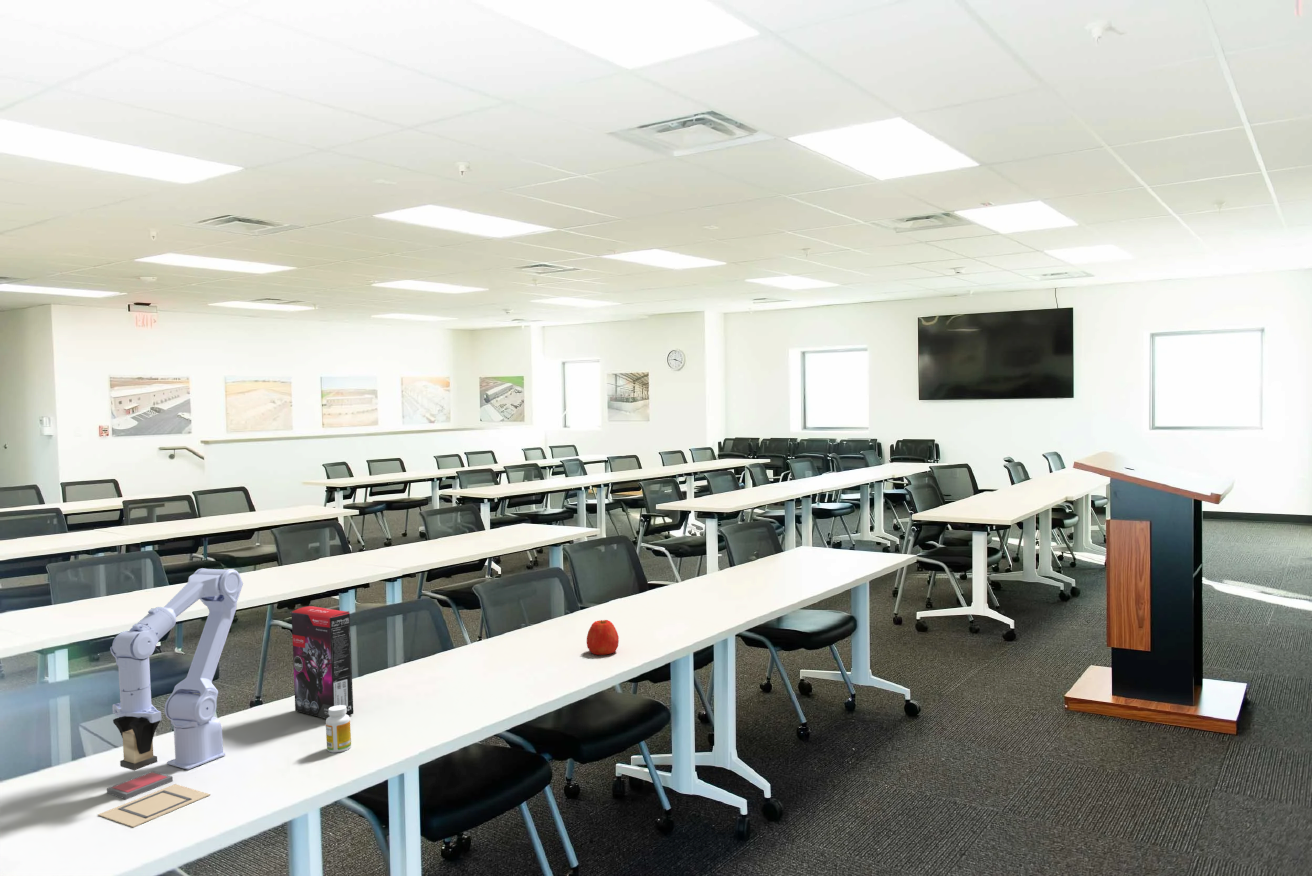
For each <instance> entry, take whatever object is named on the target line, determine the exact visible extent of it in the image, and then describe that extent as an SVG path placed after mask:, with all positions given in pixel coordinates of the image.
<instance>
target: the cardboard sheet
mask: <svg viewBox="0 0 1312 876" xmlns="http://www.w3.org/2000/svg"><path fill="white" fill-rule="evenodd" d="M209 796H211V793H207V792H204V791H200V790H197V789H193V788H190V787H187V786H183V785H180V784H177V783H175V784H172V785H168V786H167V787H164V788H161V789H159V790H157V791H154V792H150V793H149V794H147V795H144V796H141V797H139V798H137V799H134V800H131V801H129V802H126V803H124V804H121V805H118V806H116V807H113V808H111V809H109V810H106V811H103V812H101V813H99V814H97V815H98V816H99V817H101V818H105V819H108V820H110V821H113V822H116V823H119V824H122V825H124V826H127V827H131V828H136V827H138V826H140V825H141V826H142V825H143V824H145V823H148V822H151V821H152V820H155V819H157V818H159V817H162V816H164V815H167V814H169V813H171V812H173V811H176V810H179V809H181V808H183V807H185V806H187V805H190V804H192V803H195V802H198V801H200V800H202V799H206V798H207V797H209Z"/></svg>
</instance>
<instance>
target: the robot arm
mask: <svg viewBox="0 0 1312 876" xmlns="http://www.w3.org/2000/svg"><path fill="white" fill-rule="evenodd" d="M243 586H244V583H243V580H242V577H241V575H240V573H239V571H237V569H233V568H227V569H218V568H217V569H215V568H214V569H213V568H206V567H205V568H203V567H202V568H198V569H197V570H196V571H195V572H193V574H191V575H190V576H188V580H187V583H186V584H185V585H184V586H183V587H182V588H181V589H180V590H179V591H178V592H177V593H176V594H175V595H174V596H173V597H172V598H171V599H170V600H169V601H168V602H167V603H166V605H165V606H163V607H162V606H157V607H153V608H150V609H149V610H148V611H147V614H146V615H145V616H144V617H143V618H142V619H140V620H139V621H138V622H137V623H134V624H133V625H132V626H131V628H130V629H129V630H125V631H121V632H120V633H118V634H117V635H115V637H114V639H113V641H112V646H110V648H109V650H110V653H111V655H112V656H113V657H114V659H115V664H116V666H117V667H118V683H119V685H118V686H119V687H118V688H119V700H120V702H117V703H113V704H112V714H115V717H117V718H114V719H112V722H113V724H114V725H115V726H116V728H117V729H118V731H119V733H120V736H121V739H123V734H122V732H125V731H129V730H133V732H134V734H135V737H136V742H137V748H138V752H139V754H143V753H146V752H149V751H150V750H151V745H152V741H154V736H155V733H156V730H157V728H158V726H159V724H160V722H161V721H162V711H161V710H158V709H157V708H156V707H155V706H154V705H153V703H152V691H151V690H152V688H151V687H152V686H151V685H152V684H151V671H150V670H151V669H150V668H151V666H150V664H151V663H150V656H152V655H153V653H154V651H155V650H156V646H157V644H158V643H159V641H160V640H161V639H162V638H163V637H164V636H165V635H166V634H167V633H168V632H169V631H171V630H172V629H173V628H174V627H175V625H176V624H177V623H176V622H177V617H178V616H180V615H181V614H183V613H184V612H185V611H187V609H189V608H190V607H192V606H193V605H194V604H195V603H196V602H198V601H199V600H200V602H202V604H204V606H206V608H207V609H208V612H209V613H208V615H207V618H206V620H205V623H204V626H203V630H202V633H201V635H200V639H199V640H198V644H197V647H196V650H195V652H194V655H193V658H192V660H191V664H190V667H189V670H188V673H187V675H186V677H185V678H184V679H182V680H181V681H179V682H178V683H177V684H176V685H174V688H173V691H172V693H171V694H170V695H169V697H168V698H167V699H166V700H165V704H164V716H165V717H166V718H167V719H168V720H170V725H172V726H173V739H174V758H173V759H171V760H167V762H166V764H167V765H169V766H173V767H176V768H180V769H184V770H191V769H193V768H196V767H198V766H199V767H200V766H201V765H203V764H206V763H208V762H211V761H214V760H217V759H220V758H221V757H224V756H226V752H224V745H223V743H224V741H223V727H222V724H221V722H220V720H219V718H217V717H216V716H215V713H216V711H217V702H218V701H217V700H218V696H219V690H218V689H217V688H216V686H215V685H214V684H213V679H214V676H215V674H216V671H217V667H218V664H219V661H220V658H221V655H222V652H223V650H224V647H225V644H226V641H227V637H228V635H229V633H230V628H231V626H232V623H233V620H234V617H235V614H236V611H237V605H238V601H239V597H240V594H241V591H242V588H243Z"/></svg>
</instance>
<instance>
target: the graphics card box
mask: <svg viewBox="0 0 1312 876" xmlns="http://www.w3.org/2000/svg"><path fill="white" fill-rule="evenodd" d="M350 615H351V613H350V611H349V610H348V611H346V610H338V609H331V608H326V607H320V606H313V605H309V606H302V607H299V608H297V609H295V610H292V611H291V630H292V631H291V632H292V633H291V635H292V656H293V660H292V661H293V681H294V682H293V683H294V709H295V710H294V711H295V712H299V713H302V714H307V715H309V716H310V715H311V716H315V717H319V718H322V719H325V720H326V719H327V718H328V717H330V716H329V714H328V709H329V708H330V707H333V706H337V705H344V706H346V709H347V712H346V715H348V716H349V717H350V716H351V715H354V694H353V668H352V666H353V665H352V664H353V663H352V641H351V640H352V639H351V620H350V619H351V617H350Z"/></svg>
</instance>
